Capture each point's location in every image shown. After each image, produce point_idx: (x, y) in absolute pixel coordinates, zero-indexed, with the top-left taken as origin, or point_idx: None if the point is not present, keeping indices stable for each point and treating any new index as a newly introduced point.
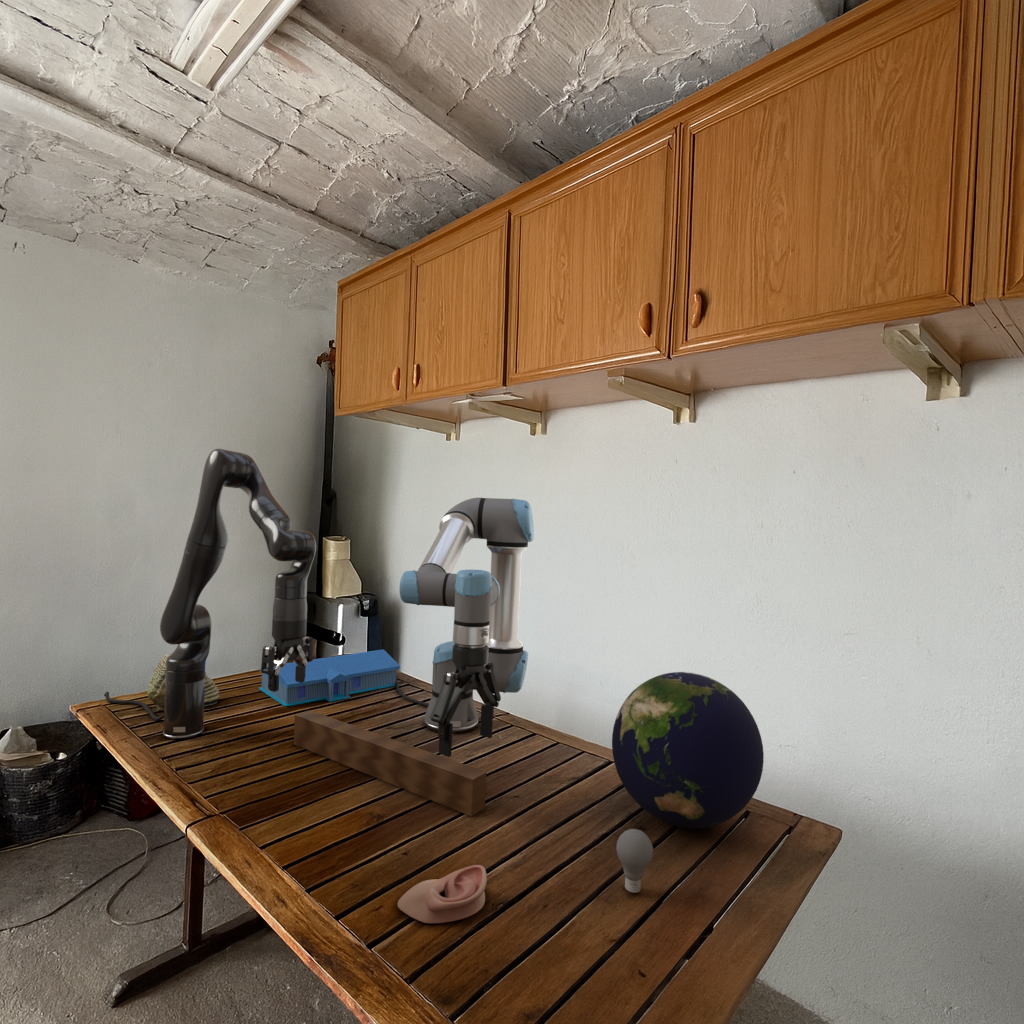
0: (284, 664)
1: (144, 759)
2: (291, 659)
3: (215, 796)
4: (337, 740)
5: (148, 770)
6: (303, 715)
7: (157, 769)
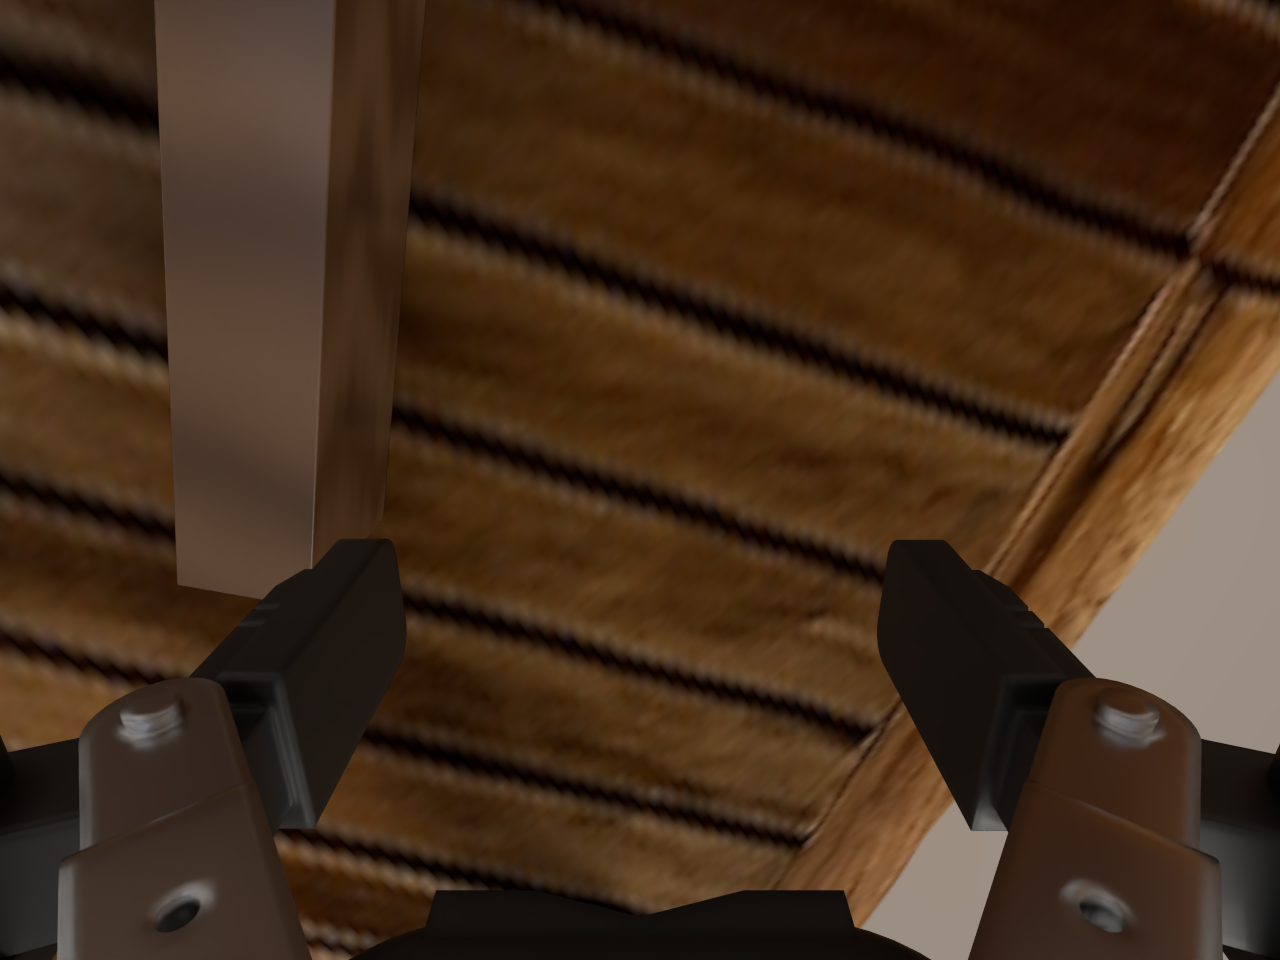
0: (1045, 808)
1: (837, 882)
2: (645, 923)
3: (1039, 409)
4: (364, 111)
5: (913, 805)
6: (281, 552)
7: (893, 788)
